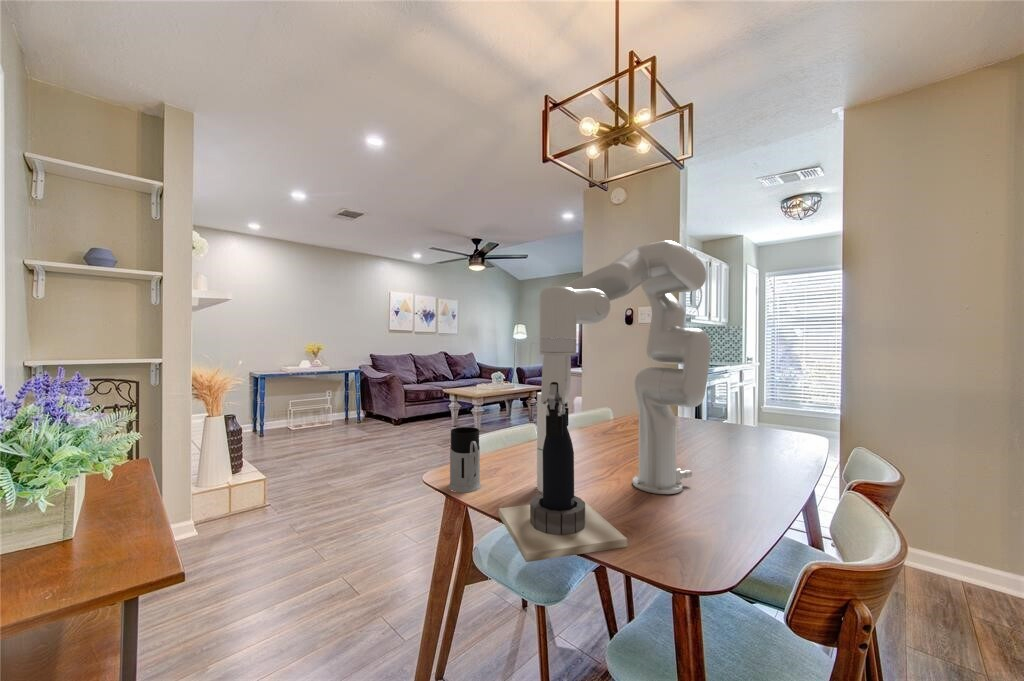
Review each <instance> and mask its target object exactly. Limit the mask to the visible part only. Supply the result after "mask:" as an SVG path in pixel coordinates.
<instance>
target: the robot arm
mask: <svg viewBox="0 0 1024 681" xmlns="http://www.w3.org/2000/svg"><path fill="white" fill-rule="evenodd" d="M706 280H707V270H706V267H705V265H704V263H703V262H702V260H701V259H700V258H699V257H698V256H696V255H695V254H694V253H692V252H691V251H690V250H689V249H687V248H686V247H684V246H683V245H682V244H680V243H677V241H673V240H667V239H666V240H661V241H657V242H650V243H647V244H640V245H637V246H634V247H632V248H630V249H629V250H627V251H626V252H624V253H623V254H622V255H621V256H619V257H618V258H616V259H615V260H613V261H612V262H610V263H609V264H607V265H605V266H602V267H601V268H598V269H596V270H594V271H592V272H589V273H587V274H585V275H582V276H580V277H578V278H575V279H574V280H572V281H570V282H568V283H567V284H565V285H563V286H548V287H544V288H542V289H541V291H540V293H539V355H540V356H543V357H542V369H541V371H542V372H541V391H540V392H541V402H542V404H546V403H547V402H548V404H547V412H546V436H550V437H562V436H563V416H561V412H562V405H564V404H565V407H566V408H565V410H566V411H565V413H566V414H567V427H568V426H569V407H568V406H569V400H570V397H571V380H572V379H571V378H572V376H571V375H572V371H571V369H572V368H571V367H572V364H571V363H572V361H571V356H573V355H574V356H575V355H576V356H577V325H588V324H589V325H590V324H591V325H592V324H598V323H600V322H602V321H603V320H605V319H606V318H607V317H608V315H609V313H610V311H611V302H612V301H615V300H618V299H621V298H624V297H626V296H628V295H629V294H630V293H632V292H633V291H634V290H636V288H638V287H640V286H641V289H642V291H643V292H644V294H645V296H646V297H647V300H648V302H649V305H650V307H651V308H650V309H651V317H650V318H651V319H650V326H649V331H648V338H647V345H646V354H647V357H648V358H649V360H651V361H652V362H654V363H659V364H666V365H667V364H668V365H683V368H675V367H674V368H672V367H660V366H659V367H658V366H656V367H653V366H651V367H645V368H643V369H641V370H640V371H639V372H638V373H637V374H636V376H635V379H634V389H635V390H634V391H635V396H636V400H637V401H636V402H637V409H638V410H637V411H638V475H635V476H633V477H632V484H633V486H634V487H635V488H637V489H639V490H640V491H644V492H646V493H651V494H656V495H674V494H677V493H681V492H682V491H683V489H684V485H683V484H684V483H682V482H681V480H682V479H688V478H689V479H690V478H692V477H693V472H692V470H689V469H687V470H682V469H681V468H677V459H678V458H677V456H678V455H677V449H678V448H677V443H678V442H677V441H678V440H677V429H678V428H677V427H678V426H677V419H676V416H675V413H674V411H673V409H672V408H671V406H676V407H684V408H696V407H699V406H700V405H701V404H702V403H703V401H704V398H705V395H706V390H707V384H708V383H707V382H708V375H709V369H710V367H709V366H710V360H711V352H712V351H711V342H710V338H709V335H708V333H707V332H706V331H705V330H703V329H701V328H697V327H684V326H685V325H684V324H685V316H686V313H685V312H686V311H685V309H684V307H683V305H682V304H681V303H680V301H679V300H678V299H677V298H676V296H675V295H674V294H677V293H688V292H690V293H691V292H695V291H699V290H700V289H701V288H702V287H703V286H704V285H705V283H706ZM557 390H558V392H557ZM558 406H559V407H558Z"/></svg>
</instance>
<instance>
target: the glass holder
mask: <svg viewBox="0 0 1024 681" xmlns="http://www.w3.org/2000/svg"><path fill="white" fill-rule="evenodd" d="M480 455H481V447H480V429H479V428H477V427H473V426H472V427H471V426H467V427H466V426H462V427H460V426H459V427H456V428H452V429H451V430H450V448H449V472H450V474H449V484H448V487H449V488H448V490H449V489H450V491H451V490H453V491H452V492H454V491H456V492H455V493H459V492H460V494H461V493H463V494H465V492H467V493H473V492H476V491H478V489H479V490H480V489H481V488H482V484H481V480H480V479H481V475H480V472H481V471H480V470H481V469H480V468H481V463H480V461H481V456H480ZM472 491H473V492H472Z"/></svg>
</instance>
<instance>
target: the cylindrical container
mask: <svg viewBox="0 0 1024 681" xmlns="http://www.w3.org/2000/svg"><path fill="white" fill-rule="evenodd" d="M536 401H537V402H536V420H537V421H536V477H537V478H536V489H537V491H538V492H540V493H541V494H543V446H544V440H545V437H546V412H547V404H548V402H547V403H546V404H542V402H541V391H539V392H536Z"/></svg>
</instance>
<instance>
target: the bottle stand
mask: <svg viewBox="0 0 1024 681" xmlns="http://www.w3.org/2000/svg"><path fill="white" fill-rule="evenodd" d="M498 516H499V519H500V520H501V522H502V523H503V525H504V526H505V529H506V530H507V532H508V533H509V535H510V537H511V538H512V540H513V542H514V544H515V546H516V548H517V549H518V552H520V554H521V556H522V558H523V559H524V561H525V563H530V562H536V561H543V560H550V559H556V558H562V557H568V556H569V557H570V556H576V555H581V554H588V553H595V552H602V551H607V550H614V549H615V550H616V549H621V548H626V547H628V538H627V537H626V536H625V535H623V533H621V532H620V531H619V530H618V529H616V528H615V527H614V526H613V525H612V524H611V523H610V522H609V521H607V520H606V519H605V518H604V516H602V515H600V514H599V512H597V511H596V510H595V509H594V508H592V507H591V506H590V505H589V504H588V503H586V502H585V501H584V500H583V499H582V498H581V497H579V496H576V495H574V508H573V509H571V510H565V511H554V510H548V509H546V508H543V493H541V494H540V493H539V494H538V495H535V496H533V498H532V499H531V500H530V502H529V504H526V505H525V504H524V505H518V506H516V505H515V506H509V507H507V506H506V507H499V508H498Z"/></svg>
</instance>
